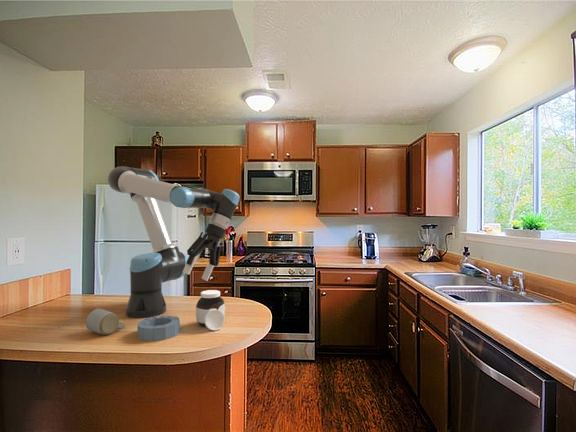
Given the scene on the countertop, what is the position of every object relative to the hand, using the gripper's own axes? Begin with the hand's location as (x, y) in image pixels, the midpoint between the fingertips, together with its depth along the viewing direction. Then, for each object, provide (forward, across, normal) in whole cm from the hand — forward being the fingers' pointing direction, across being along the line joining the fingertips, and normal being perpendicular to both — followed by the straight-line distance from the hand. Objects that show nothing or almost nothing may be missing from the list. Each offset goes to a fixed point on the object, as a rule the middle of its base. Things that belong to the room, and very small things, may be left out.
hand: (195, 276), depth 128 cm
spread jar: (+14, 0, -15) cm, 20 cm away
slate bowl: (+21, -12, -4) cm, 24 cm away
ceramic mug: (+27, -15, +14) cm, 34 cm away
